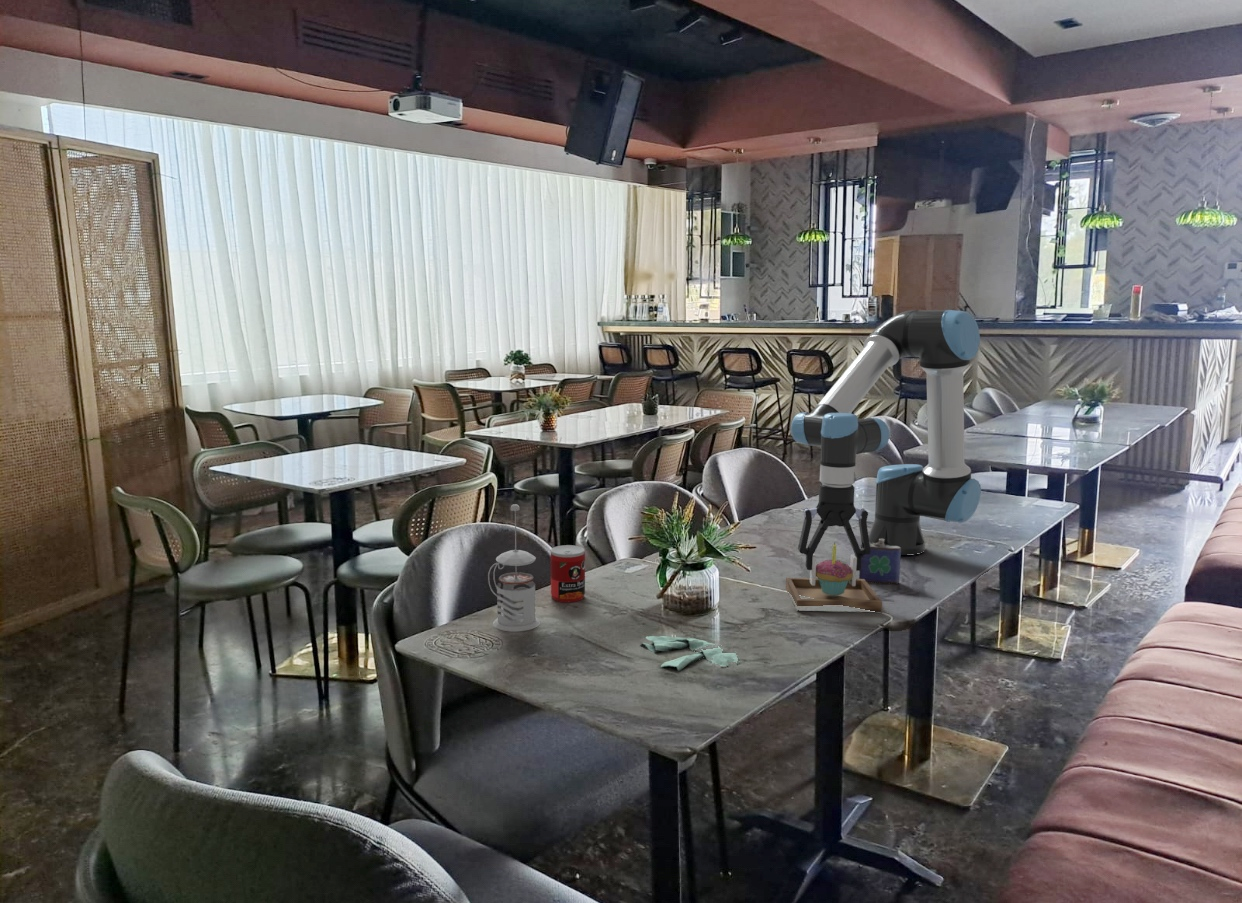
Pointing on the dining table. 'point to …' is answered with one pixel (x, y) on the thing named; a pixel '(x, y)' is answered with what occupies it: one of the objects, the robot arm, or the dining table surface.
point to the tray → (851, 597)
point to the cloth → (682, 643)
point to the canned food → (567, 573)
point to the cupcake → (833, 575)
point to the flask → (881, 564)
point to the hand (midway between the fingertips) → (832, 583)
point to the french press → (515, 591)
